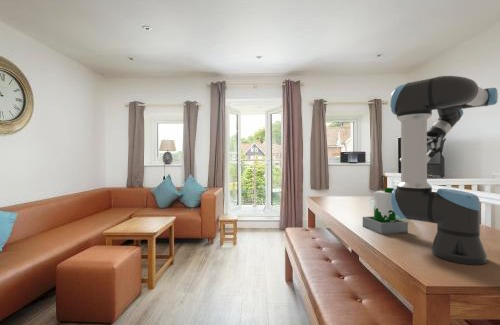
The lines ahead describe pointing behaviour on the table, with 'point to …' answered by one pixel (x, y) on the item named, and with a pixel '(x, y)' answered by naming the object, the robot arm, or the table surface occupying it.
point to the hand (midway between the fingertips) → (412, 161)
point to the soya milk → (383, 206)
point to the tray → (385, 226)
